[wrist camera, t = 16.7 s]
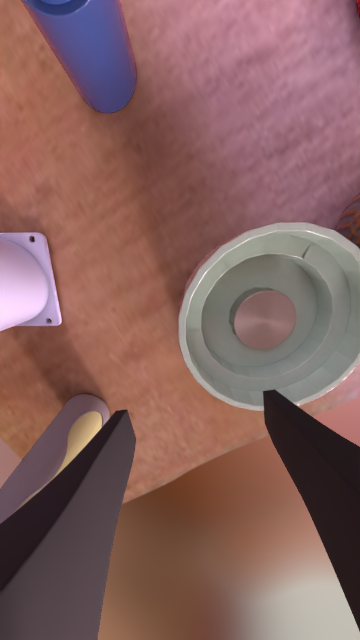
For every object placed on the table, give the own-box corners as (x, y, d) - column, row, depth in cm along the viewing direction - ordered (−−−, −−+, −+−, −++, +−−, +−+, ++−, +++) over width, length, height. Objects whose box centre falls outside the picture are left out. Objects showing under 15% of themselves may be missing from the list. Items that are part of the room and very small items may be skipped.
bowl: (179, 378, 21) (179, 410, 16) (179, 232, 17) (177, 223, 12) (316, 379, 20) (351, 411, 16) (349, 230, 16) (409, 221, 12)
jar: (80, 116, 14) (-22, -25, 7) (65, 32, 13) (-77, -241, 6) (140, 110, 14) (99, -41, 7) (131, 24, 13) (68, -266, 6)
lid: (291, 330, 18) (303, 337, 17) (238, 349, 19) (244, 358, 17) (278, 277, 17) (288, 279, 15) (221, 300, 18) (225, 304, 16)
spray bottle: (84, 433, 23) (-406, 1308, 4) (57, 402, 22) (-859, 1461, 3) (119, 418, 22) (-261, 1393, 3) (95, 384, 21) (-791, 1668, 2)
